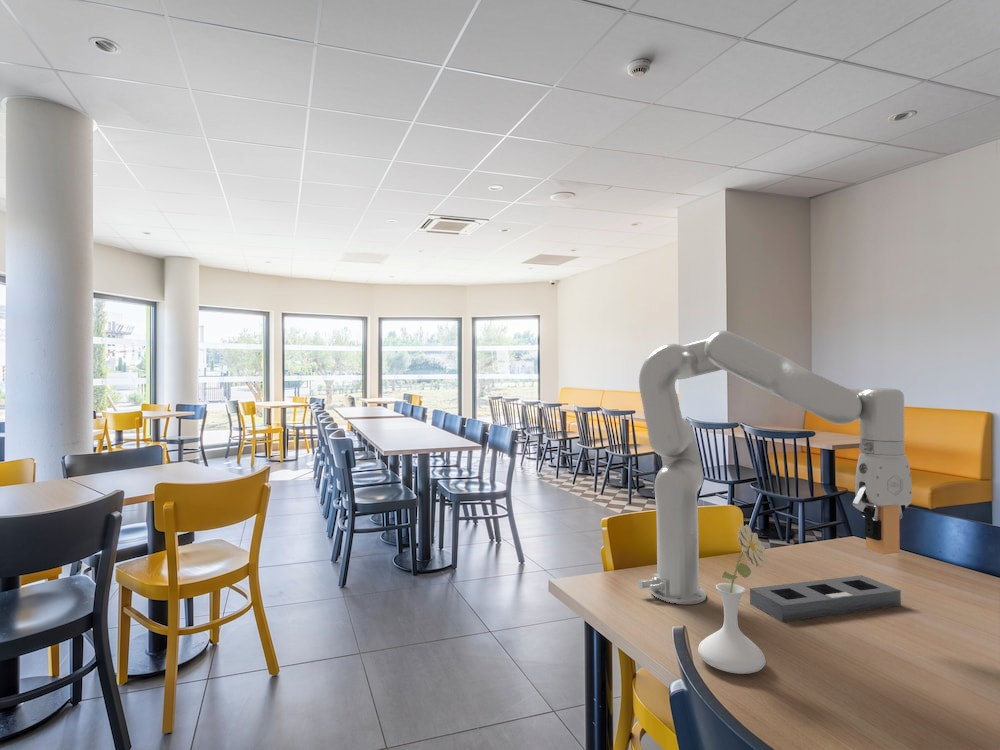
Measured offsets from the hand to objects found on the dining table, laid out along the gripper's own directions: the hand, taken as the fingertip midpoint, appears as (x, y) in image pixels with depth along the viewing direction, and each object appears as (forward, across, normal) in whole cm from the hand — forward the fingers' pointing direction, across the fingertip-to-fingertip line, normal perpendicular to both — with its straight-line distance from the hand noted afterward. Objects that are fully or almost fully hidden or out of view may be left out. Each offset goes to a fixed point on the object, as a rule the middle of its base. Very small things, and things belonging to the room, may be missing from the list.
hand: (882, 536), depth 114 cm
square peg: (+3, 0, 0) cm, 3 cm away
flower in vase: (+19, -38, -3) cm, 43 cm away
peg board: (+19, -1, +14) cm, 24 cm away
